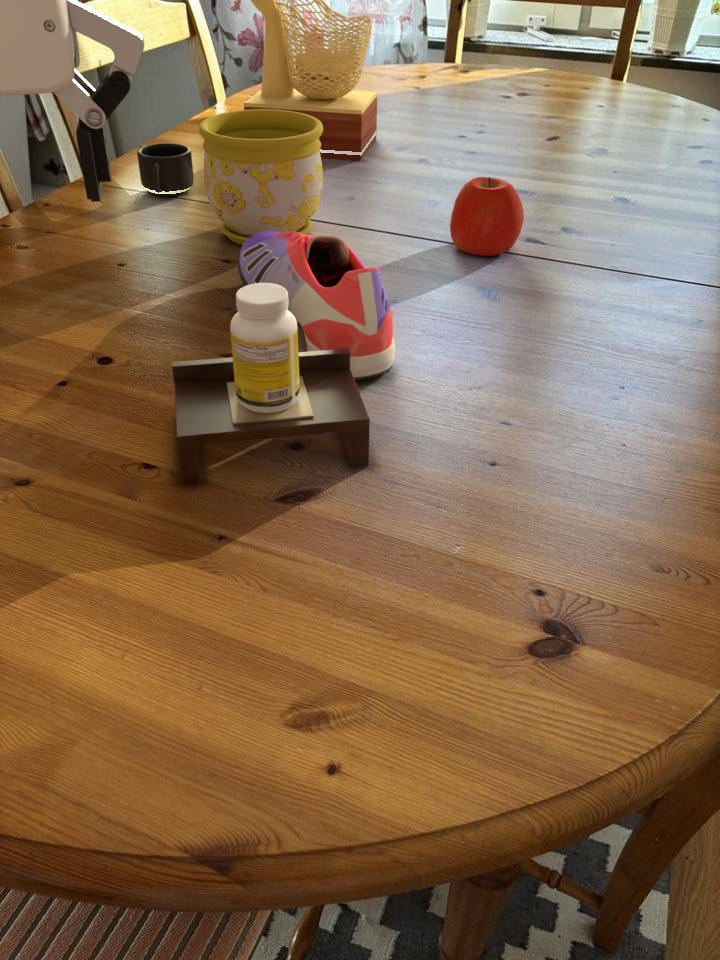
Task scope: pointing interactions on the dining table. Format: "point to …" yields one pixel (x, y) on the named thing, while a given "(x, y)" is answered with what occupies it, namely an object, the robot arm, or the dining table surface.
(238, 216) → the flowerpot
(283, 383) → the pill bottle
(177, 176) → the mug
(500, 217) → the apple
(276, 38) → the beige netted upright structure
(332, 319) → the coral sneaker
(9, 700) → the dining table surface
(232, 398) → the shelf
